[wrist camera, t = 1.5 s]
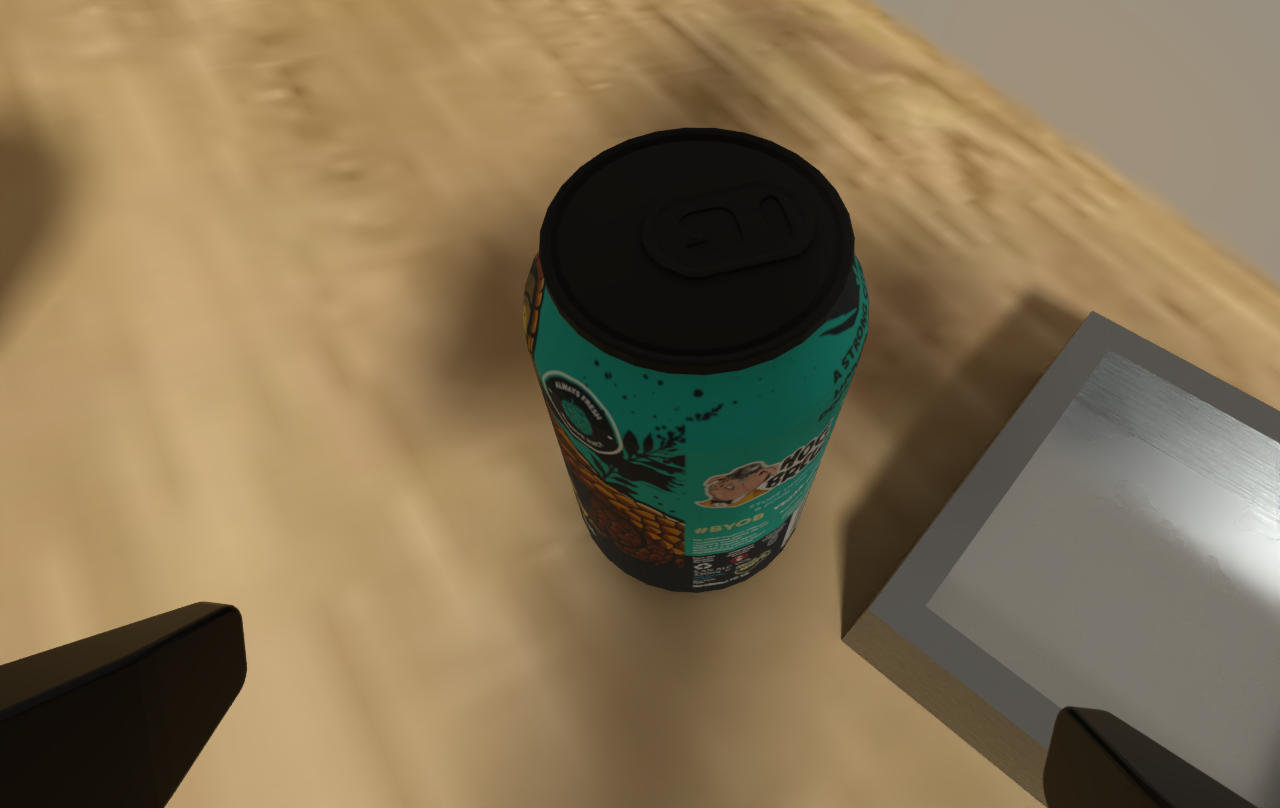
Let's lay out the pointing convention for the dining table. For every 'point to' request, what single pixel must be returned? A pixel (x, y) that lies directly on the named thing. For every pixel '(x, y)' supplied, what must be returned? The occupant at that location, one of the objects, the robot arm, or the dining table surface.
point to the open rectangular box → (1103, 571)
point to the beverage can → (694, 347)
